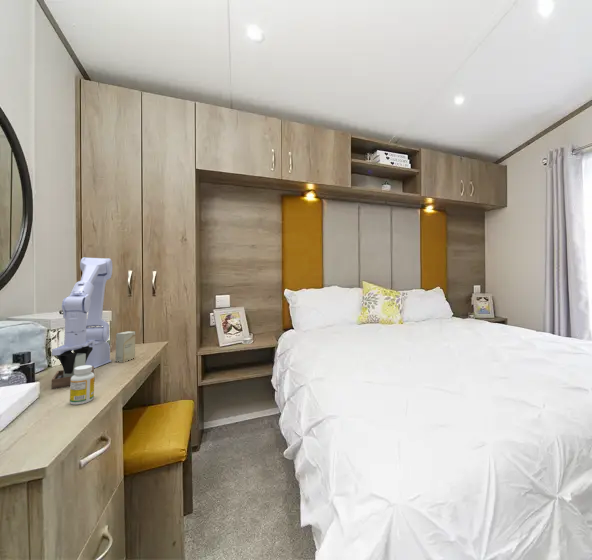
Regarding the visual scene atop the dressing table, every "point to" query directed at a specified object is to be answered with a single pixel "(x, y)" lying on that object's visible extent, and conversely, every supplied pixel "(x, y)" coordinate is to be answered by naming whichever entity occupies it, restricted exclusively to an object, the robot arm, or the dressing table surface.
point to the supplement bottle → (82, 385)
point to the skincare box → (125, 346)
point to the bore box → (62, 379)
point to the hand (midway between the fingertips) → (74, 371)
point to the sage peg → (77, 363)
